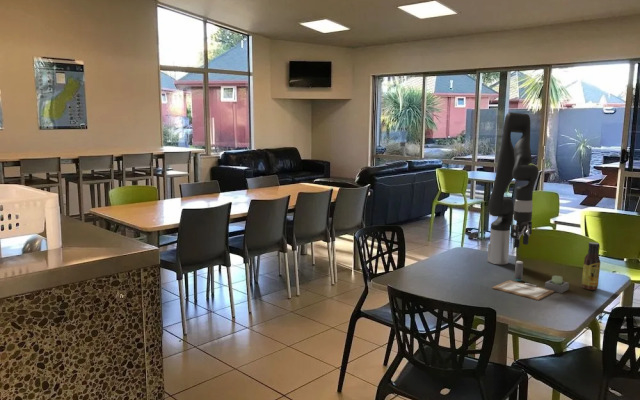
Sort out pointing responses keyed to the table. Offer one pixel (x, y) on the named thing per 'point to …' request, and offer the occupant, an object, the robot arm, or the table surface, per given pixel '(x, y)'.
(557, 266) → the table surface
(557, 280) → the button
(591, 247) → the sauce bottle
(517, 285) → the clipboard
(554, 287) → the button housing
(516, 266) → the cylinder
